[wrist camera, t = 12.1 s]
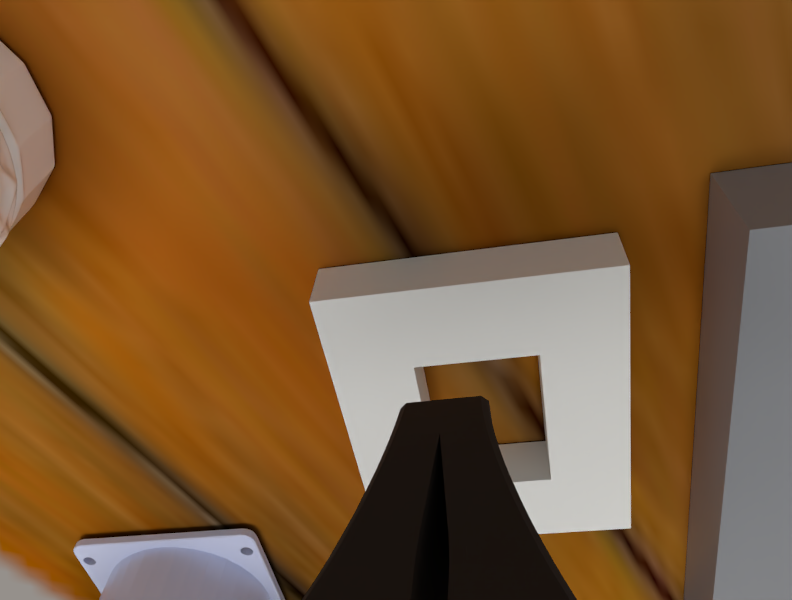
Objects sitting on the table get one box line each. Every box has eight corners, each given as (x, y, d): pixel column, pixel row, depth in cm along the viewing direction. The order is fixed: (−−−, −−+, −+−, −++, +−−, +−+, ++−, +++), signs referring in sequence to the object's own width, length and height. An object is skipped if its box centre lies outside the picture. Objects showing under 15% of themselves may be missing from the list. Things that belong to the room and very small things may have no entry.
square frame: (621, 488, 27) (630, 528, 26) (385, 505, 29) (381, 543, 27) (617, 232, 21) (630, 264, 20) (318, 268, 23) (309, 302, 21)
